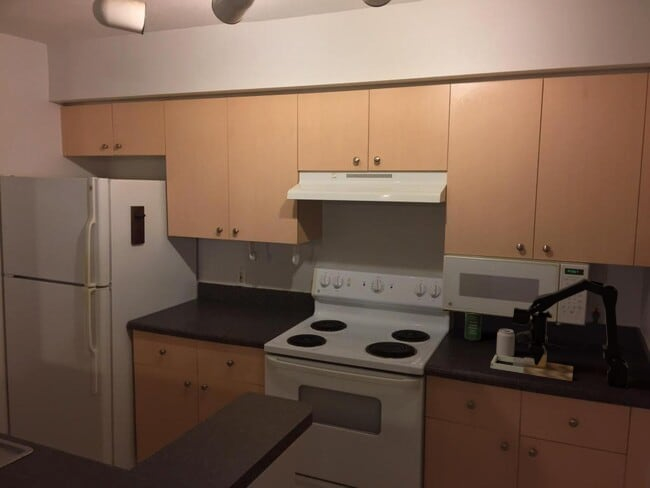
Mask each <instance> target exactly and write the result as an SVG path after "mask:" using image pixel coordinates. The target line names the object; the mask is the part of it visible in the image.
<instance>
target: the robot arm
mask: <svg viewBox="0 0 650 488" xmlns="http://www.w3.org/2000/svg"><path fill="white" fill-rule="evenodd" d="M585 291H586V292H587V291H588V292H590V293H593V294H595V295H597V296H601V299H602V302H603V303H602V304H603V306H604V316H605V317H604V318H605V327H606V330H605V331H606V344H602V349H603V353H602V357H603V360H604V361H606V364H607V365H608V366H609V368H608V369H609V370H608V369H607V373H606V383H608V386H611V387H614V388H615V387H617V388H623V389H628V386H629V385H628V379H629V377H628V376H629V370H630V368H629V366H628V363H627V361H626V360H625V358H623V356H622V352H621V347H620V344H619V337H618V327H617V326H618V324H617V323H618V322H617V311H616V308H617V302H618V296H619V291H618V289H617V287H616V285H615V284H613V283H611V282H605V283H604V282H600V281H597V280H592V279H589V278H582V279H581V280H579V281H577V282H574V283H572V284H570V285H568V286H564V287H563V288H560V289H559V290H556V291H553V292H550V293H549V292H547V293H544V294H539V295H537V296H535V297H534V298H533V301H532V304H531V305H530V306H529V307H528V309H527V308H519V307H514V309H513V315H512V325H520V326H528V325H529V324H530V323H531V326H530V330H524V331H520V332H517V333H516V334H515V338H516V340H517V342H518V344H521V343H522V342H529V344H528V346H527V352H528V353H532V355H533V359H534V362H535V365H538V364H539V362H540V360H541V358H542V356H543V354H544V353H545V350H546V348H547V344H548V335H547V331H548V329H547V326H548V319H552V318H553V314H552V313H551V312H550V311H549V309H550V308H552V307H553V306H554V305H556V304H557V303H559V302H561V301H563V300H566V299H568V298H570V297H573V296H575V295H577V294H579V293H582V292H585ZM545 311H546V312H545Z"/></svg>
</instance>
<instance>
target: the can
mask: <svg viewBox="0 0 650 488" xmlns="http://www.w3.org/2000/svg"><path fill="white" fill-rule="evenodd" d="M515 341H516V334H515V333H514V330H513V329H509V328H499V329H498V331H497V334H496V353H495V354H496V355H502V356H509V357H514V356H515Z"/></svg>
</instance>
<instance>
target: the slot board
mask: <svg viewBox="0 0 650 488" xmlns="http://www.w3.org/2000/svg"><path fill="white" fill-rule="evenodd" d="M573 372H574V366H573V365H567V364H561V363H554V362H547V361H546V370H544V369H538V368H531V367H525V366H524V372H523V373H522V374H525V375H526V374H527V375H533V376H538V377H545V378H551V379H557V380H564V381H570V382H572V381H573V377H574V376H573V375H574V374H573Z"/></svg>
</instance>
